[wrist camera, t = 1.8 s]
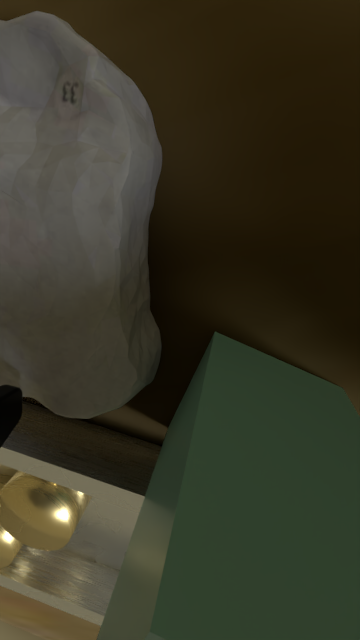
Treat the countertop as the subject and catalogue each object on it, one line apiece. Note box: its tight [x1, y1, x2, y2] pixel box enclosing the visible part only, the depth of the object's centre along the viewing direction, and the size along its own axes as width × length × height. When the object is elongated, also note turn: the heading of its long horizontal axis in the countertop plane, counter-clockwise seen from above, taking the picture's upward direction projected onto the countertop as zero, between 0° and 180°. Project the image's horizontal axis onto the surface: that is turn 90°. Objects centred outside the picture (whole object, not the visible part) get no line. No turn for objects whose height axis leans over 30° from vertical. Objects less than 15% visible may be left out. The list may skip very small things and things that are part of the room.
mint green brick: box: [97, 332, 360, 640], centre depth 6 cm, size 4×4×7 cm
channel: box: [0, 401, 162, 626], centre depth 12 cm, size 12×8×2 cm
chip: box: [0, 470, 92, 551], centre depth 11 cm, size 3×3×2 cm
